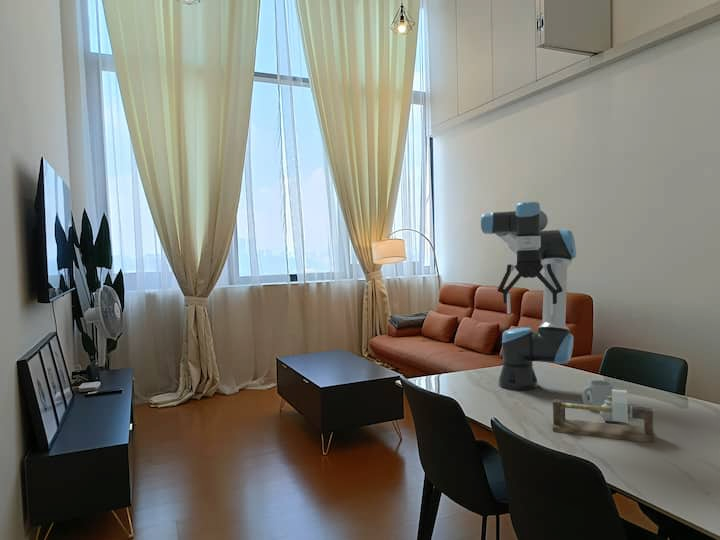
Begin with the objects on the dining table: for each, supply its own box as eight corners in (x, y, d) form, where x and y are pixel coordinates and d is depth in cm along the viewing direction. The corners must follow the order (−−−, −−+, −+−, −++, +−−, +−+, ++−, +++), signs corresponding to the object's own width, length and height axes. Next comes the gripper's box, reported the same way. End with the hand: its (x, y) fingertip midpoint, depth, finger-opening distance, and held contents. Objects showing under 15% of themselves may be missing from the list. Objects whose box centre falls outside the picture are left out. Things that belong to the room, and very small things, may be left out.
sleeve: (612, 420, 148) (612, 392, 148) (612, 415, 153) (611, 388, 152) (627, 422, 146) (627, 393, 146) (627, 416, 151) (626, 389, 151)
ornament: (624, 424, 157) (623, 393, 156) (599, 424, 158) (598, 393, 157) (616, 418, 163) (615, 387, 162) (592, 418, 164) (592, 387, 163)
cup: (616, 412, 169) (616, 385, 168) (586, 412, 170) (585, 386, 169) (608, 405, 176) (607, 380, 175) (578, 405, 177) (578, 380, 176)
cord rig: (552, 431, 154) (552, 402, 153) (555, 421, 162) (554, 394, 161) (654, 443, 142) (653, 412, 142) (651, 432, 150) (650, 403, 150)
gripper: (488, 250, 166) (489, 314, 167) (569, 248, 156) (570, 316, 157) (492, 250, 173) (493, 311, 174) (570, 248, 162) (571, 312, 163)
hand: (530, 313), depth 165 cm, fingers open, 13 cm apart
